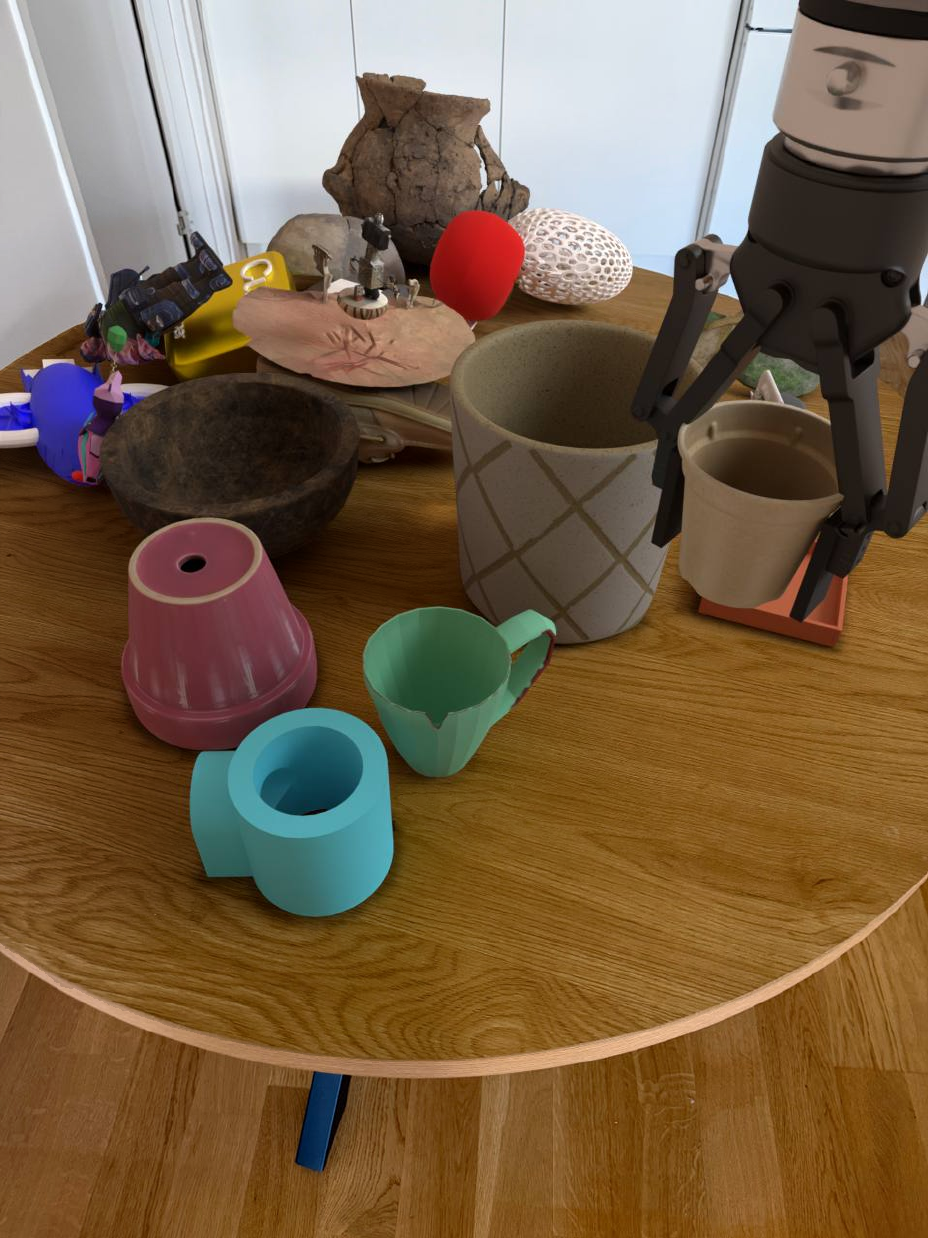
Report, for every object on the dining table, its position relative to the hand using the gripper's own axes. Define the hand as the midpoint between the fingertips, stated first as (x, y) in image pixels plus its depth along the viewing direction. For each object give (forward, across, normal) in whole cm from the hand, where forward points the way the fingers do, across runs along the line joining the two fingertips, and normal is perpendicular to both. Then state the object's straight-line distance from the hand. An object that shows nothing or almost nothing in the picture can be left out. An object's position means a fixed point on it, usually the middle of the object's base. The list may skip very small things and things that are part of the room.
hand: (735, 569), depth 52 cm
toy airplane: (+14, -69, -6) cm, 70 cm away
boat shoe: (+12, -45, +14) cm, 49 cm away
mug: (+20, -13, -8) cm, 25 cm away
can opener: (+19, -14, +42) cm, 48 cm away
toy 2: (+16, -77, +8) cm, 79 cm away
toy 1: (+2, -57, -4) cm, 57 cm away
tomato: (+9, -59, +36) cm, 69 cm away
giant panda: (+13, -59, +30) cm, 67 cm away
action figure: (+6, -70, +14) cm, 71 cm away
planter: (+20, -19, +10) cm, 29 cm away
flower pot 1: (+6, -30, -17) cm, 35 cm away
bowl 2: (+9, -74, +35) cm, 82 cm away
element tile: (+17, -70, +15) cm, 73 cm away
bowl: (+19, -44, -4) cm, 48 cm away
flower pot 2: (+1, 0, 0) cm, 1 cm away
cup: (+20, -14, -23) cm, 33 cm away
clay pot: (+19, -74, +47) cm, 90 cm away
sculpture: (+12, -53, +18) cm, 57 cm away
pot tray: (+19, -5, +23) cm, 30 cm away
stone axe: (+19, -21, +36) cm, 46 cm away
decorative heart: (+11, -53, +44) cm, 70 cm away
